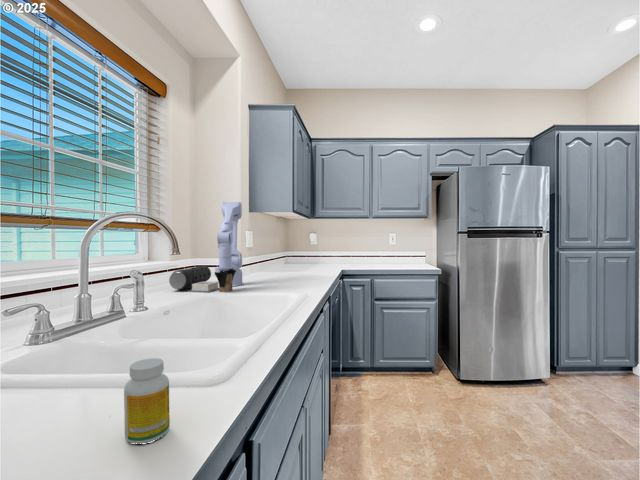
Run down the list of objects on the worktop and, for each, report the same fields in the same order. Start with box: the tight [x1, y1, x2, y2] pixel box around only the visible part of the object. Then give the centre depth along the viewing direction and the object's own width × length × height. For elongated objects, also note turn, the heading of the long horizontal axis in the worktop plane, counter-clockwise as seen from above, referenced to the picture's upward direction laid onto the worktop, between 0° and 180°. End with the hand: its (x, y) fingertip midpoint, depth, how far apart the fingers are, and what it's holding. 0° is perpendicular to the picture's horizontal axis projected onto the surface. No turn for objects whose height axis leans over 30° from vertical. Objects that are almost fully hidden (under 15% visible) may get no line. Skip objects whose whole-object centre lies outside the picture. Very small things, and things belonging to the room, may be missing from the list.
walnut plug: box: [218, 271, 233, 293], centre depth 161 cm, size 4×4×9 cm
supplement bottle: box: [123, 357, 171, 444], centre depth 45 cm, size 5×5×10 cm
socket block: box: [189, 281, 219, 293], centre depth 163 cm, size 10×10×4 cm
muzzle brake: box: [168, 265, 212, 291], centre depth 174 cm, size 10×28×10 cm, turn 174°
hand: (225, 286), depth 161 cm, fingers open, 6 cm apart
